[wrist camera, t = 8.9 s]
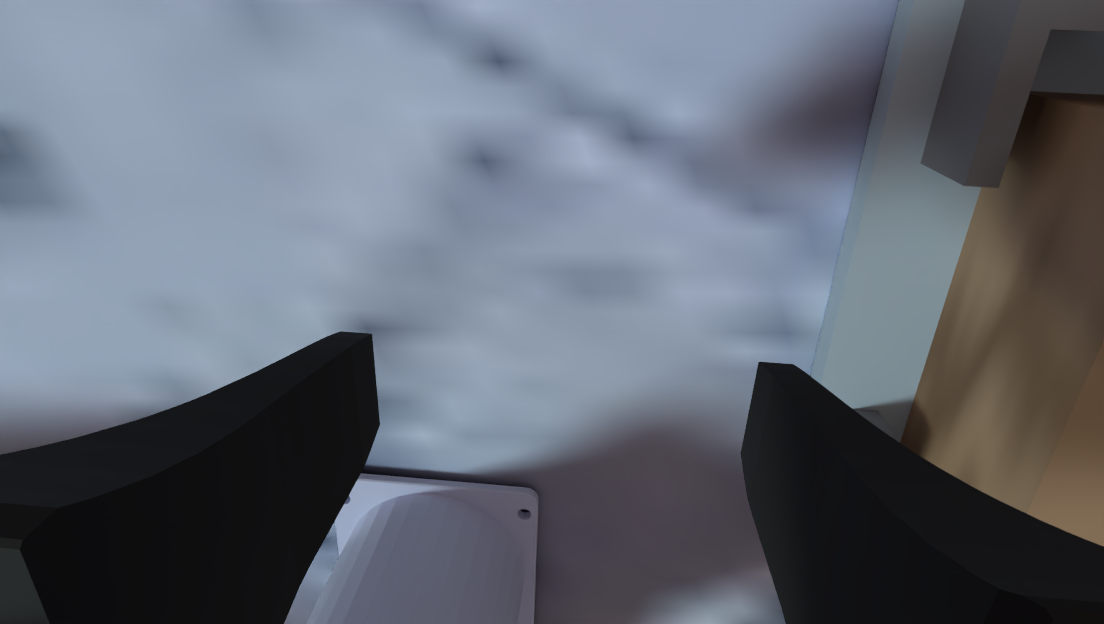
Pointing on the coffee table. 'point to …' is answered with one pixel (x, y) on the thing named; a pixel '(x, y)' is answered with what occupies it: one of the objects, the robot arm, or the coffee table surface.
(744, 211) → the coffee table surface
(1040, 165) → the tan wooden block
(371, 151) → the coffee table surface
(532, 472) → the coffee table surface
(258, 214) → the coffee table surface
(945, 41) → the board
